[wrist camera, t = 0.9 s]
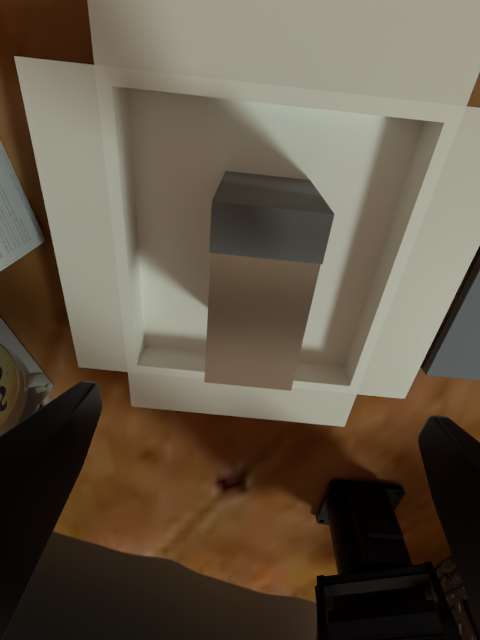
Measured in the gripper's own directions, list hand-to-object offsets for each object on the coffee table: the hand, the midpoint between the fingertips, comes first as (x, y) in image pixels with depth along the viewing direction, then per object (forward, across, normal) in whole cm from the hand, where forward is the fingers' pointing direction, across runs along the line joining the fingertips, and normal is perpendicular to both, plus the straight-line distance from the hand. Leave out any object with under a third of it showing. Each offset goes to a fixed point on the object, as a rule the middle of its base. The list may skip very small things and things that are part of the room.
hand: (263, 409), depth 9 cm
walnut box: (+11, 0, 0) cm, 11 cm away
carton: (+12, 0, 0) cm, 12 cm away
